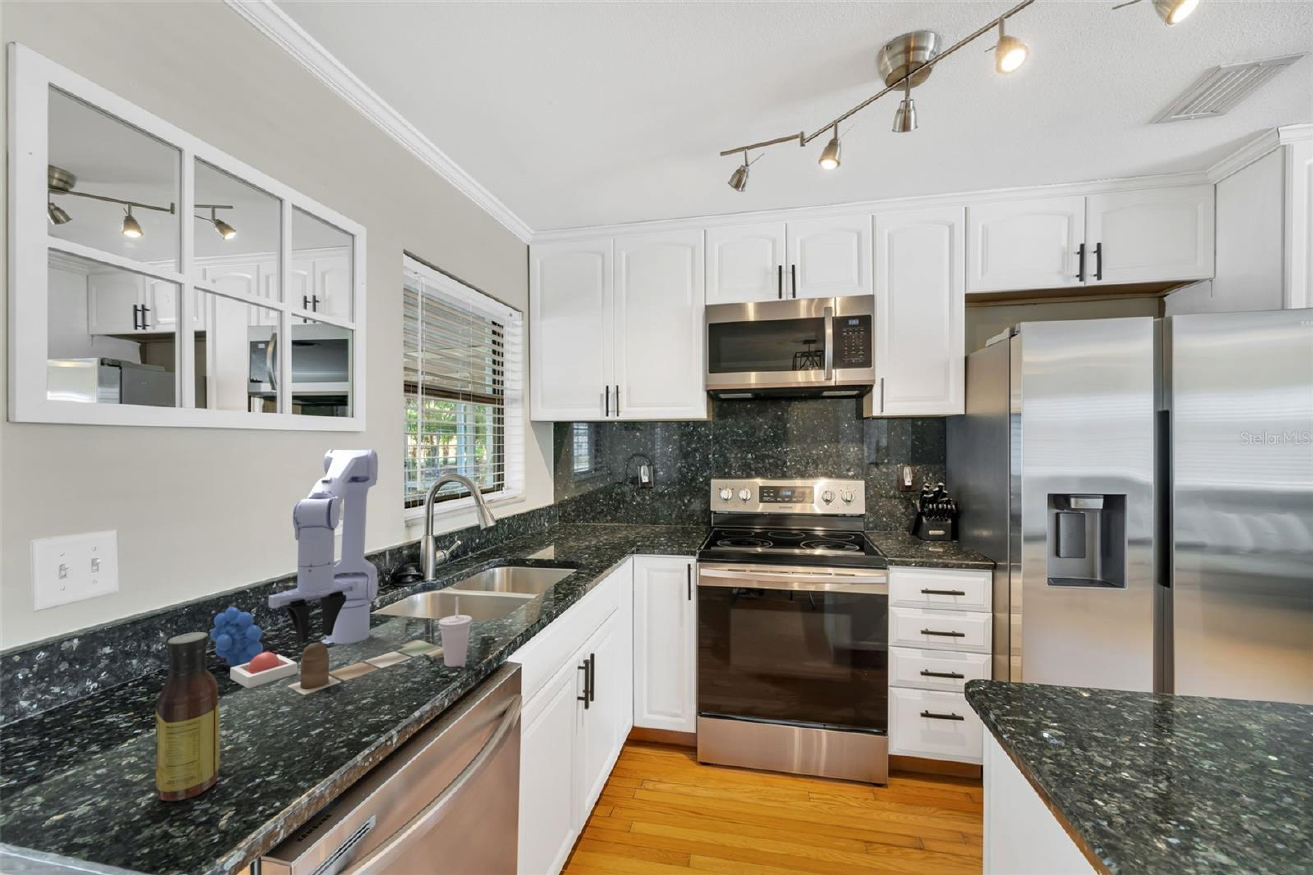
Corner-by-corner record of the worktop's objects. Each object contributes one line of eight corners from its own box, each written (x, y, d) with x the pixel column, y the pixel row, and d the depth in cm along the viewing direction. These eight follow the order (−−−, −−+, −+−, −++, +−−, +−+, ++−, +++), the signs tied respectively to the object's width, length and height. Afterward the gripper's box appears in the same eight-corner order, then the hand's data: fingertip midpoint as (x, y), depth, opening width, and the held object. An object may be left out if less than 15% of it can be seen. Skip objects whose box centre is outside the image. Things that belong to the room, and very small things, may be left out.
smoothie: (477, 662, 113) (477, 594, 113) (463, 675, 106) (463, 602, 107) (447, 661, 113) (448, 593, 114) (432, 673, 107) (432, 602, 107)
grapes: (190, 673, 107) (191, 612, 107) (224, 660, 114) (224, 602, 114) (240, 678, 105) (241, 615, 105) (271, 664, 112) (272, 605, 112)
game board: (278, 688, 100) (278, 683, 100) (417, 643, 124) (417, 638, 124) (309, 705, 94) (309, 699, 94) (450, 654, 117) (450, 649, 117)
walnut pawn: (295, 685, 99) (296, 644, 99) (321, 677, 103) (322, 637, 103) (307, 691, 97) (308, 649, 97) (333, 682, 101) (333, 642, 101)
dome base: (230, 683, 102) (230, 667, 102) (278, 669, 109) (278, 654, 109) (248, 694, 98) (248, 677, 98) (297, 678, 105) (297, 662, 105)
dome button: (243, 680, 103) (244, 654, 103) (272, 671, 107) (273, 646, 107) (254, 686, 100) (255, 659, 100) (283, 677, 104) (284, 651, 104)
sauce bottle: (181, 776, 73) (184, 628, 74) (230, 774, 74) (233, 626, 74) (139, 808, 67) (143, 645, 67) (194, 805, 67) (197, 643, 68)
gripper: (281, 573, 92) (280, 654, 92) (367, 559, 104) (366, 630, 104) (263, 568, 96) (262, 646, 96) (347, 555, 108) (347, 624, 108)
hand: (315, 638), depth 100 cm, fingers open, 4 cm apart
